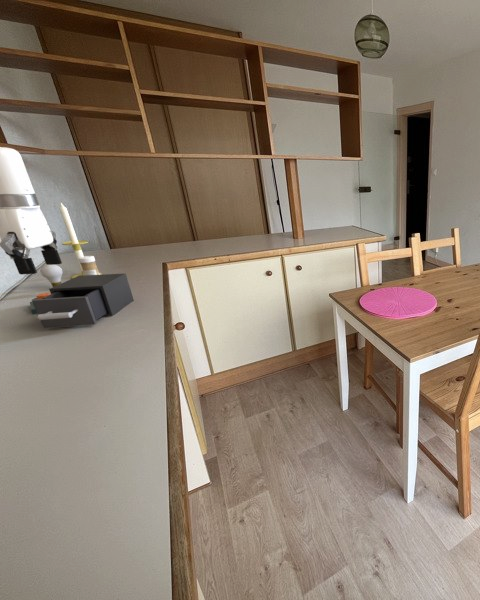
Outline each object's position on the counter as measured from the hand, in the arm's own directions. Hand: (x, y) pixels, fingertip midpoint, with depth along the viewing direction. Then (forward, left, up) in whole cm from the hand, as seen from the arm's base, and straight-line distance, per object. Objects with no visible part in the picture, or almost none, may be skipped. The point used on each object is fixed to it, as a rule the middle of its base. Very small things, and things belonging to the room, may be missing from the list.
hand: (42, 268), depth 83 cm
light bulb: (+24, +54, -20) cm, 62 cm away
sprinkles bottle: (+29, +39, -20) cm, 52 cm away
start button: (+10, +32, -17) cm, 37 cm away
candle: (+39, +64, -20) cm, 77 cm away
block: (+11, +32, -20) cm, 39 cm away
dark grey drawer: (+7, +7, -19) cm, 22 cm away
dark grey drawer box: (+16, +14, -20) cm, 29 cm away
